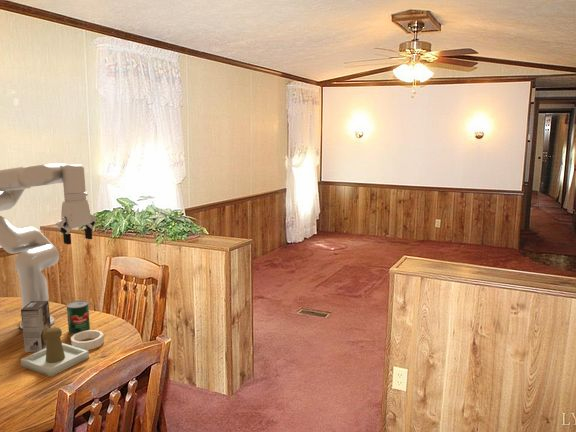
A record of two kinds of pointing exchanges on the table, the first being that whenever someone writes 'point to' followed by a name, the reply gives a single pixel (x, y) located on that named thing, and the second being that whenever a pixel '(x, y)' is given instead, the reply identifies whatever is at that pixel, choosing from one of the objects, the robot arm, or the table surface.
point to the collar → (88, 334)
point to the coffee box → (35, 325)
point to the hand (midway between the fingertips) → (78, 241)
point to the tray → (50, 369)
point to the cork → (54, 345)
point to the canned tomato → (78, 316)
